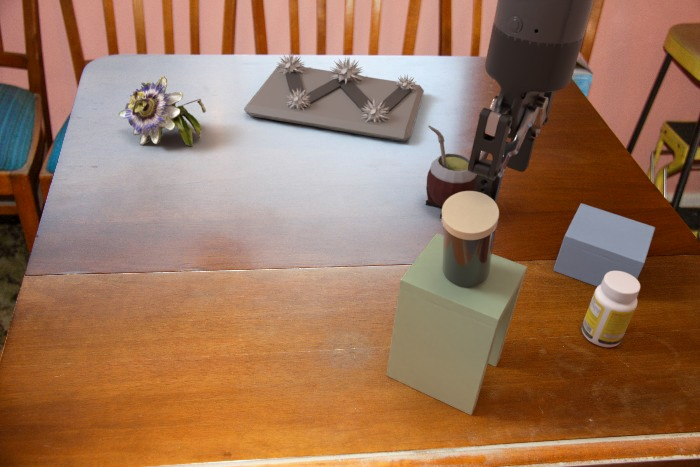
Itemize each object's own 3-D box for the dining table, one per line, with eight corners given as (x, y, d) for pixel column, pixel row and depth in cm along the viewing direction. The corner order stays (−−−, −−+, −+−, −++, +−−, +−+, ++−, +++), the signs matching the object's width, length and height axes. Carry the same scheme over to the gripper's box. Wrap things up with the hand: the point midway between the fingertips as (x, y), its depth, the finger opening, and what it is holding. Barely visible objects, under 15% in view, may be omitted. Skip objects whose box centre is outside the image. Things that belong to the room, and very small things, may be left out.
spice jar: (499, 258, 64) (507, 200, 58) (480, 296, 62) (486, 240, 55) (452, 241, 66) (455, 184, 60) (432, 278, 64) (432, 222, 57)
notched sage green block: (499, 360, 74) (527, 266, 66) (471, 415, 68) (498, 319, 59) (419, 326, 78) (436, 232, 69) (385, 375, 71) (400, 279, 63)
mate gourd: (472, 201, 100) (492, 112, 91) (464, 229, 94) (483, 137, 85) (425, 190, 102) (439, 102, 93) (413, 217, 96) (428, 126, 87)
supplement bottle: (627, 334, 79) (651, 282, 74) (611, 355, 76) (635, 302, 71) (590, 314, 82) (611, 262, 76) (573, 333, 79) (594, 281, 74)
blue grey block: (640, 261, 91) (655, 227, 87) (628, 298, 84) (644, 263, 81) (569, 237, 94) (580, 202, 91) (552, 270, 88) (564, 235, 84)
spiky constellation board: (242, 119, 116) (240, 81, 112) (278, 72, 133) (278, 38, 129) (408, 146, 112) (413, 108, 108) (423, 95, 129) (428, 60, 125)
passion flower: (149, 171, 111) (100, 114, 105) (185, 134, 117) (140, 79, 112) (189, 156, 103) (137, 94, 98) (224, 117, 110) (178, 57, 105)
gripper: (555, 60, 48) (508, 234, 58) (606, 13, 58) (559, 169, 68) (462, 35, 51) (433, 205, 61) (526, -6, 61) (492, 146, 71)
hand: (500, 185), depth 64 cm, fingers open, 8 cm apart
